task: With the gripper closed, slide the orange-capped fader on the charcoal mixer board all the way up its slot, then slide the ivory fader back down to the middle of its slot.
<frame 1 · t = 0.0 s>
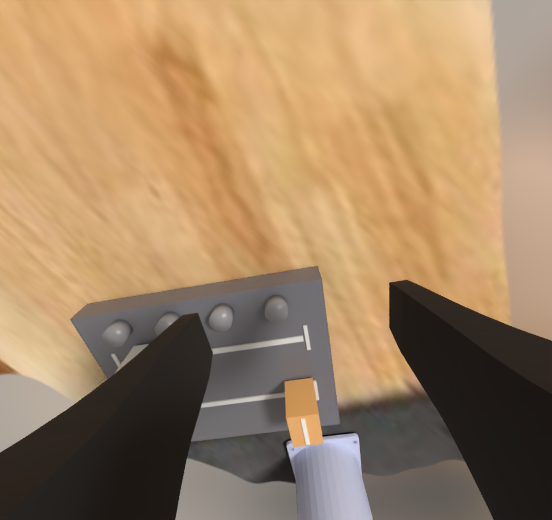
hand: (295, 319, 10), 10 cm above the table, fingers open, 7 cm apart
mixer board: (224, 359, 24), on the table
fader b: (147, 377, 19), point 4 cm above the table, slide at 11.0 cm
fader a: (303, 411, 21), point 4 cm above the table, slide at 0.0 cm
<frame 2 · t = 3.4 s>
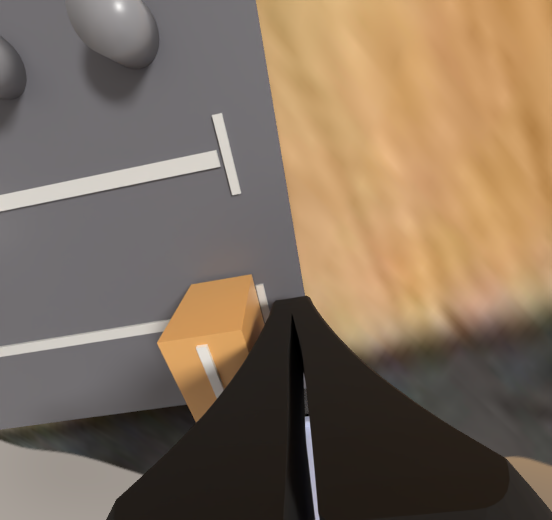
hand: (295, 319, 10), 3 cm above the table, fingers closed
mixer board: (88, 256, 12), on the table
fader a: (226, 345, 9), point 4 cm above the table, slide at 0.1 cm, touching gripper
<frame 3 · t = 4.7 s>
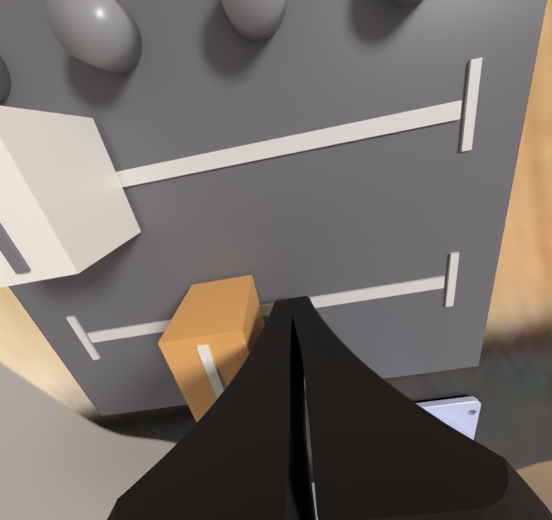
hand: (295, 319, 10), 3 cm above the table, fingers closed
mixer board: (246, 228, 11), on the table
fader b: (43, 196, 7), point 4 cm above the table, slide at 11.0 cm
fader a: (226, 345, 9), point 4 cm above the table, slide at 7.5 cm, touching gripper
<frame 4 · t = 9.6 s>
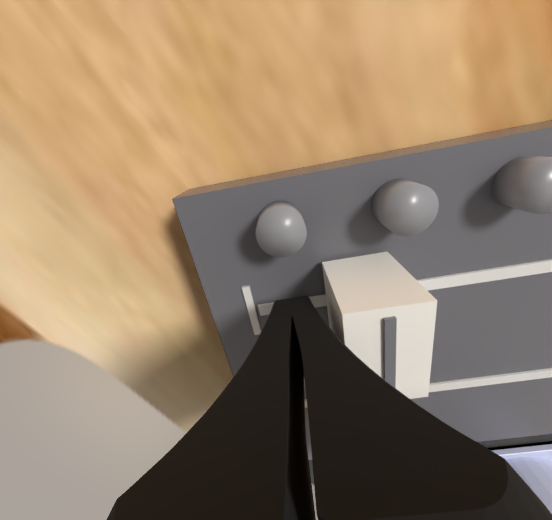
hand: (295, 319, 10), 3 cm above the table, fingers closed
mixer board: (416, 312, 13), on the table
fader b: (370, 324, 9), point 4 cm above the table, slide at 10.0 cm, touching gripper
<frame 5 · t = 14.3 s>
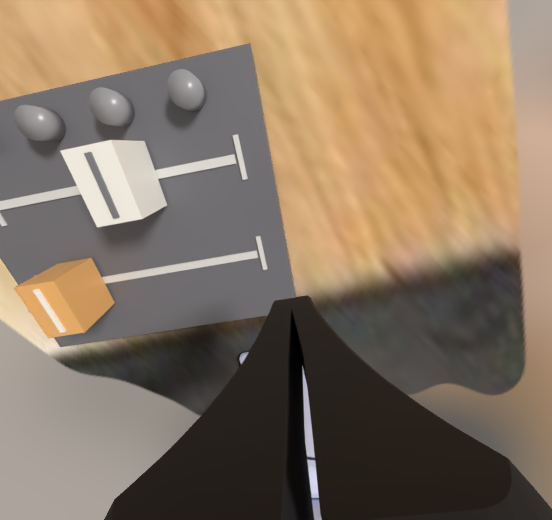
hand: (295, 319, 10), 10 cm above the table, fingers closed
mixer board: (147, 222, 18), on the table
fader b: (121, 182, 14), point 4 cm above the table, slide at 4.9 cm
fader a: (70, 296, 16), point 4 cm above the table, slide at 11.0 cm
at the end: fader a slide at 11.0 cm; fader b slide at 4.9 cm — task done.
